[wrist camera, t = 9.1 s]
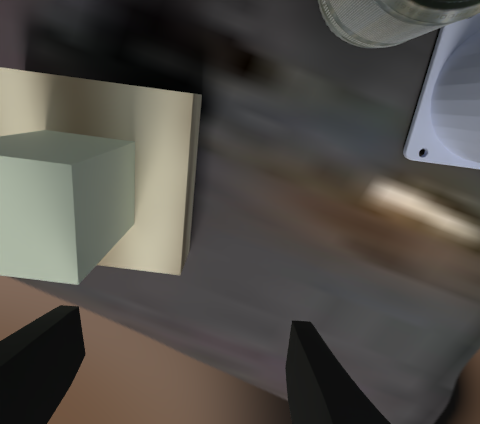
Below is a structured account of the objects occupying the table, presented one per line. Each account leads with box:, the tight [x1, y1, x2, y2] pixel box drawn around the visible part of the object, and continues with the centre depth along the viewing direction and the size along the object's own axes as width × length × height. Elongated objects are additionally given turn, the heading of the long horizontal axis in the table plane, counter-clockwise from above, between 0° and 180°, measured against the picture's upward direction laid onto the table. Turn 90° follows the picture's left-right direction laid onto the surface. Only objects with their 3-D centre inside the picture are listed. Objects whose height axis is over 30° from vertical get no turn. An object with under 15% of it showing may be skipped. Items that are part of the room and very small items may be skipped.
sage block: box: [0, 130, 135, 285], centre depth 14 cm, size 4×4×6 cm
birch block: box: [0, 67, 202, 275], centre depth 18 cm, size 10×10×3 cm
